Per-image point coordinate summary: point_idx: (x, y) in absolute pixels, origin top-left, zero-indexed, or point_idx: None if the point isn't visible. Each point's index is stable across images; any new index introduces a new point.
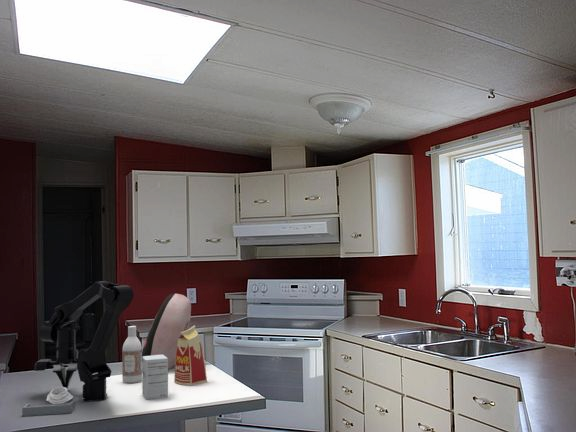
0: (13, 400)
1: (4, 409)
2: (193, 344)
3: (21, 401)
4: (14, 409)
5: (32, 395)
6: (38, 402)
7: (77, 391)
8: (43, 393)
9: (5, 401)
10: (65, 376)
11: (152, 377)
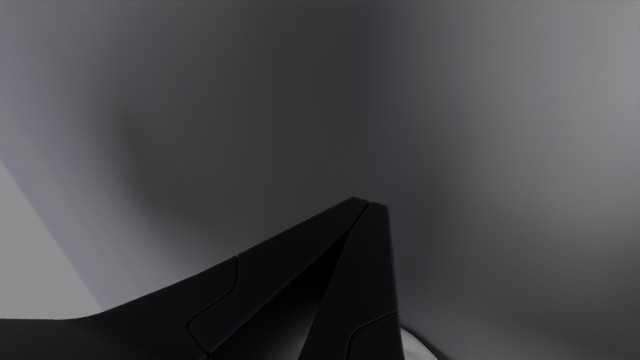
0: (36, 166)
1: None
2: None
3: (100, 220)
4: None
5: (67, 59)
6: None
7: (564, 65)
8: (121, 6)
9: (9, 167)
10: (258, 331)
11: None
